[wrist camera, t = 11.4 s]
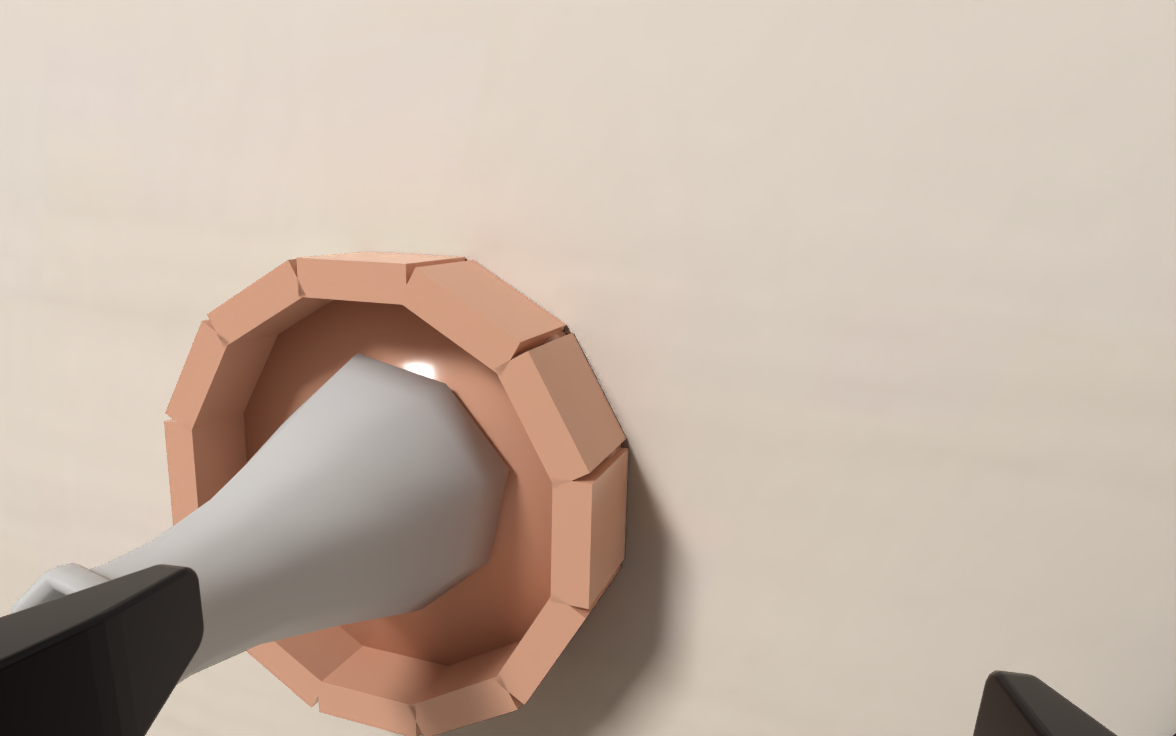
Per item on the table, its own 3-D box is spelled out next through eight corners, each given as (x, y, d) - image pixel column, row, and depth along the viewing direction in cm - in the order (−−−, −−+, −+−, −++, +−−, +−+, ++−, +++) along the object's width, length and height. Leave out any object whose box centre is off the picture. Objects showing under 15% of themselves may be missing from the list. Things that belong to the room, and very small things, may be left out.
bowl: (718, 430, 20) (693, 465, 18) (490, 752, 25) (442, 820, 22) (340, 166, 23) (265, 160, 20) (192, 504, 27) (115, 537, 24)
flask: (437, 645, 23) (154, 929, 14) (259, 498, 25) (-107, 670, 15) (556, 460, 21) (308, 657, 12) (352, 307, 22) (-18, 377, 13)
